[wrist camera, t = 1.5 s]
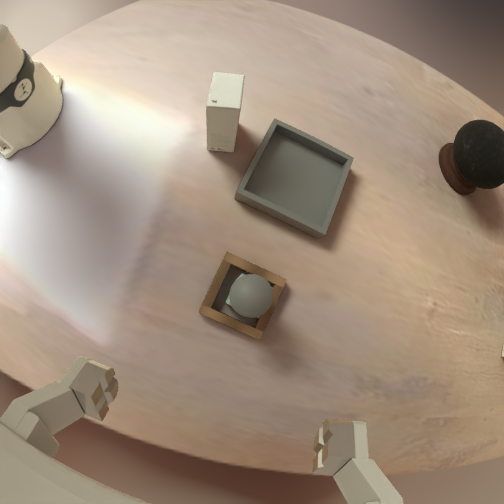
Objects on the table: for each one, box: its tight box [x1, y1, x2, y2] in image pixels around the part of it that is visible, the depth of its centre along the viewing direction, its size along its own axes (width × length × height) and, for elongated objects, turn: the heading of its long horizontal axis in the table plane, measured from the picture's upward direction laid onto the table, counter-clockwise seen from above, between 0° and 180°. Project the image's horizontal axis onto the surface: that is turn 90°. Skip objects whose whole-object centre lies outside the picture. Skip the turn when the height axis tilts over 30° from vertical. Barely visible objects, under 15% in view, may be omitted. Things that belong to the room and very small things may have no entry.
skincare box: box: [206, 72, 245, 152], centre depth 40 cm, size 6×4×12 cm
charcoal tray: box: [235, 118, 354, 239], centre depth 44 cm, size 14×14×3 cm
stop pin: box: [225, 274, 273, 318], centre depth 37 cm, size 4×4×12 cm
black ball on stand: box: [439, 120, 504, 195], centre depth 44 cm, size 13×13×15 cm
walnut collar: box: [198, 252, 287, 340], centre depth 42 cm, size 9×9×2 cm
